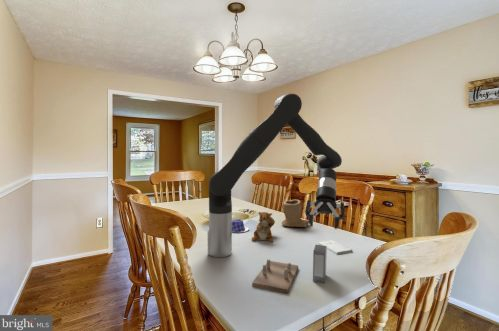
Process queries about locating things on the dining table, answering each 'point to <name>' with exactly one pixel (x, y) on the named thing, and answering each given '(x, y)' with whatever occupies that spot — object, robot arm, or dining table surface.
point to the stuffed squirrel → (264, 227)
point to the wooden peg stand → (276, 276)
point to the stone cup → (293, 214)
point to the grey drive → (319, 263)
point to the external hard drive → (335, 247)
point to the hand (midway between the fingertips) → (323, 226)
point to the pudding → (238, 226)
